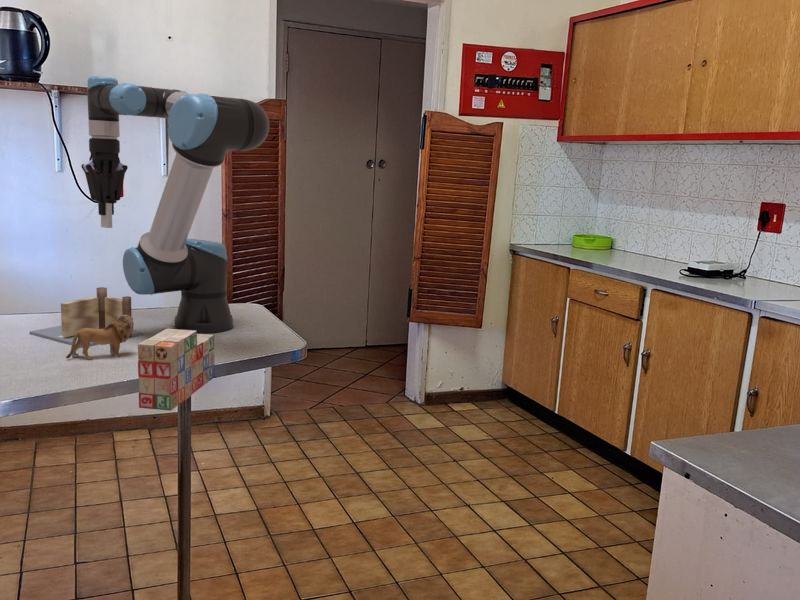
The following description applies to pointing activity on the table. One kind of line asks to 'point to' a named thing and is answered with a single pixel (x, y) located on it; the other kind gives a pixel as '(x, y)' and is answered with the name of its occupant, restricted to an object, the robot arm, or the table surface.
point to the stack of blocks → (174, 367)
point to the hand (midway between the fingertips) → (106, 227)
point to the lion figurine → (103, 336)
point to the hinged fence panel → (79, 315)
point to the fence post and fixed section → (111, 308)
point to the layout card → (56, 335)
